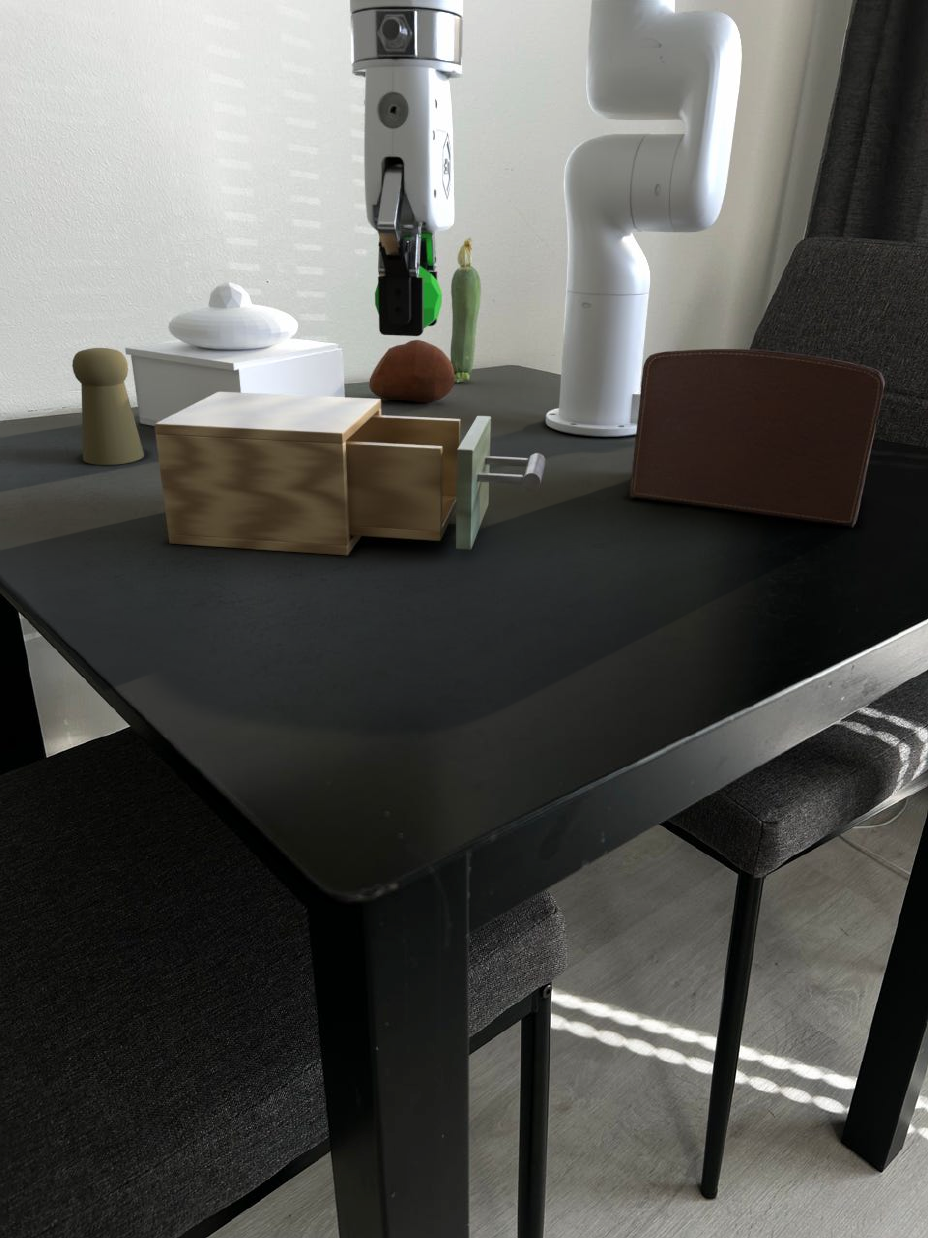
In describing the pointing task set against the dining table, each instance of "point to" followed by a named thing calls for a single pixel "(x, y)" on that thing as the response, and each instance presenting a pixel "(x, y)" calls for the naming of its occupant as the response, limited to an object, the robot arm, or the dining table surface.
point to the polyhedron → (426, 297)
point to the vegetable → (464, 313)
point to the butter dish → (231, 357)
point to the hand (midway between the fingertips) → (409, 327)
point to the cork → (106, 408)
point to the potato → (413, 373)
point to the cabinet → (260, 471)
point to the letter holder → (756, 432)
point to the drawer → (425, 477)
